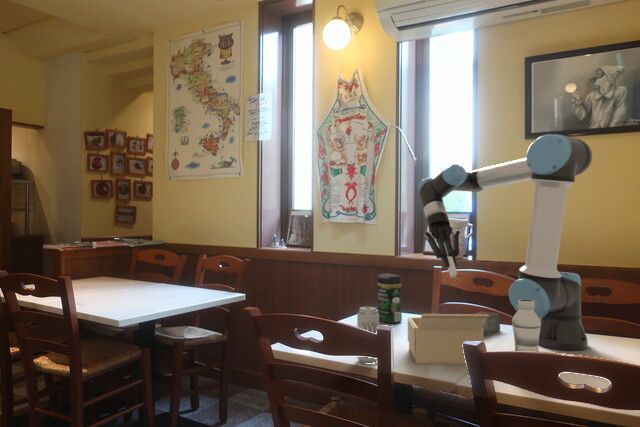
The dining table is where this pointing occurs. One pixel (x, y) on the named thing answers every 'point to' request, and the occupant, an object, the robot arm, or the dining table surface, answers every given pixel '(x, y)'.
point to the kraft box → (439, 344)
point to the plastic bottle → (526, 326)
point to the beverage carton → (491, 323)
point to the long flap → (452, 321)
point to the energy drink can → (368, 325)
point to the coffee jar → (389, 298)
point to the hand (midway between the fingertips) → (453, 275)
